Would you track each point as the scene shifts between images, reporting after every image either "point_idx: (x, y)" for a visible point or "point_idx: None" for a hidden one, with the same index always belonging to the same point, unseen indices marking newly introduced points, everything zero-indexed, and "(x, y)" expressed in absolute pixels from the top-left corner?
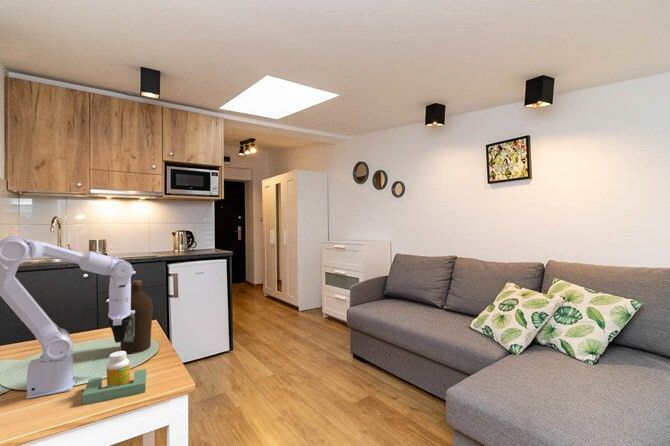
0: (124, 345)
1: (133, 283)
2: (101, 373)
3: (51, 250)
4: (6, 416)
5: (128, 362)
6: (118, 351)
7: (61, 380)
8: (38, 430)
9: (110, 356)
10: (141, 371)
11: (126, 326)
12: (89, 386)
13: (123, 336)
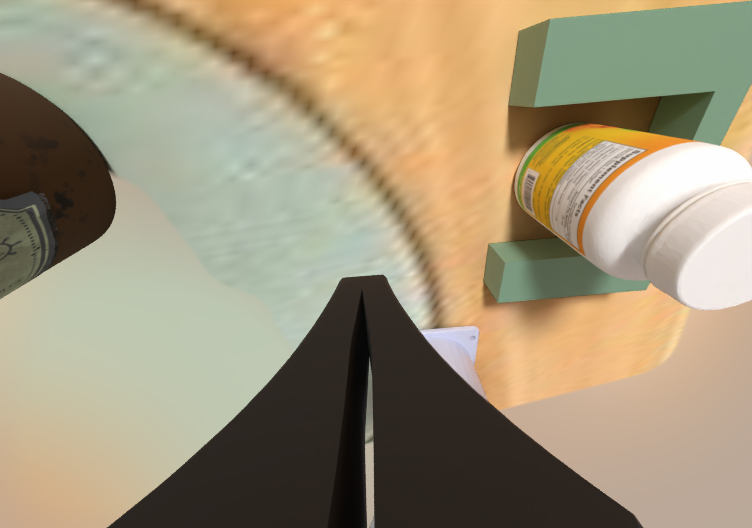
0: (74, 242)
1: None
2: (359, 269)
3: None
4: (538, 399)
5: (725, 148)
6: (691, 266)
7: (477, 376)
8: (679, 328)
9: (748, 299)
10: (573, 54)
11: (505, 420)
12: (577, 286)
13: (400, 308)
